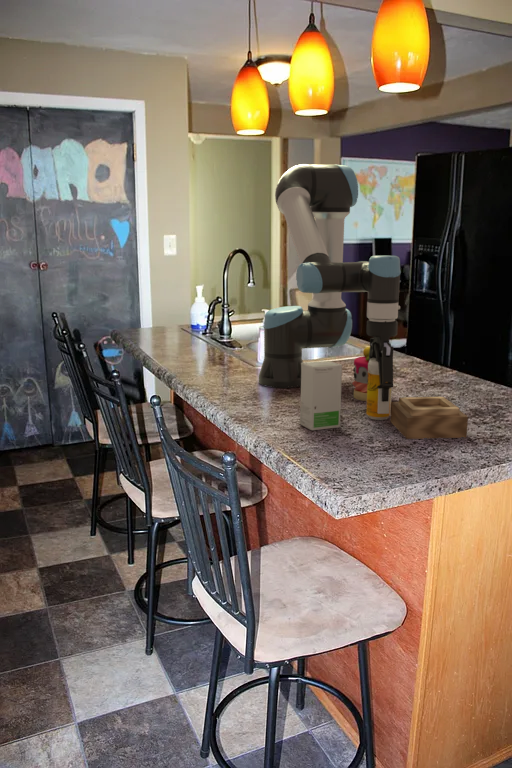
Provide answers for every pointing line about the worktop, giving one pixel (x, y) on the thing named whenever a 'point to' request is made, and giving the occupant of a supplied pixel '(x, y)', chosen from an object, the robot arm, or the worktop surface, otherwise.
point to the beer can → (374, 392)
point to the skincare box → (320, 395)
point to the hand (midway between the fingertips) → (378, 408)
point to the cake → (361, 375)
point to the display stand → (428, 418)
